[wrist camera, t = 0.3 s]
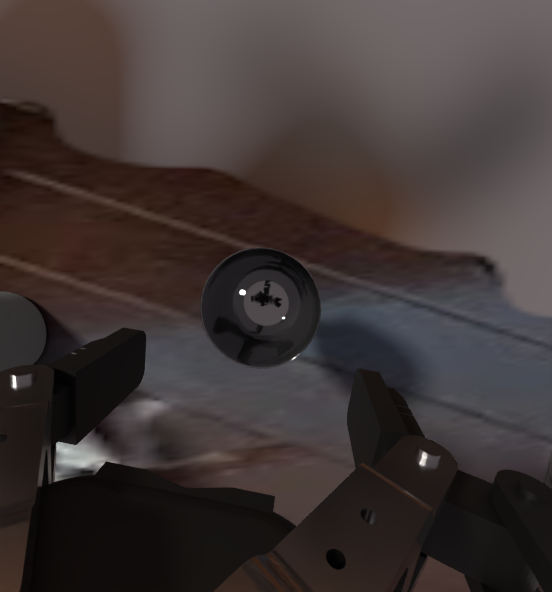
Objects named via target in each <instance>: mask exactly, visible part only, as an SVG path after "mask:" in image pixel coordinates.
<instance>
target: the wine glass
mask: <svg viewBox="0 0 552 592" xmlns="http://www.w3.org/2000/svg"><path fill="white" fill-rule="evenodd" d="M200 310H201V319H202V323H203V327H204V329H205V332H206V334H207V336H208V338H209V339H210V341H211V342H212V344H213V345H214V346H215V348H216V349H217V350H218V351H219V352H220V353H221V354H223V355H224V356H225V357H227V358H228V359H230V360H231V361H233V362H235V363H237V364H240V365H243V366H246V367H251V368H271V367H276V366H280V365H282V364H285V363H287V362H289V361H291V360H292V359H294V358H296V357H297V356H298V355H299V354H301V353H302V352H303V351H304V350H305V349H306V348H307V346H308V345H309V344H310V343H311V341H312V339H313V337H314V336H315V334H316V332H317V329H318V325H319V322H320V316H321V300H320V296H319V291H318V288H317V286H316V283H315V281H314V279H313V278H312V276H311V274H310V273H309V271H308V270H307V269H306V268H305V267H304V266H303V265H302V264H301V263H300V262H299V261H297V260H296V259H295V258H293V257H292V256H290V255H288V254H286V253H284V252H281V251H278V250H275V249H270V248H250V249H246V250H242V251H239V252H237V253H235V254H232V255H230V256H229V257H227V258H226V259H224V260H223V261H222V262H221V263H220V264H219V265H218V266H217V267H216V268H215V269H214V270H213V271H212V273H211V274H210V276H209V277H208V279H207V281H206V283H205V285H204V289H203V292H202V295H201V304H200Z"/></svg>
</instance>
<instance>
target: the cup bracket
mask: <svg viewBox="0 0 552 592" xmlns="http://www.w3.org/2000/svg"><path fill="white" fill-rule="evenodd" d="M545 485H547V486H548V487H550V488H551V489H552V453H551V458H550V462H549V467H548V472H547V476H546V481H545Z"/></svg>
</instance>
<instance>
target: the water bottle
mask: <svg viewBox="0 0 552 592" xmlns="http://www.w3.org/2000/svg"><path fill="white" fill-rule="evenodd" d="M46 338H47V334H46V326H45V322H44V319H43V317H42V315H41V313H40V312H39V310H38V309H37V308H36V307H35V306H34V304H33V303H31V302H30V301H29V300H27V299H26V298H24V297H22V296H20V295H18V294H14V293H10V292H0V372H1V371H4V370H6V369H9V368H13V367H17V366H23V365H33V364H34V363H35V362H36V361H37V360H38V359H39V357H40V356H41V354H42V352H43V350H44V347H45V344H46Z"/></svg>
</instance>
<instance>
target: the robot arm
mask: <svg viewBox="0 0 552 592" xmlns="http://www.w3.org/2000/svg"><path fill="white" fill-rule="evenodd" d="M145 351H146V334H145V332H144V331H140V330H135V329H129V328H121V329H120V330H118V331H116V332H114V333H112V334H111V335H109V336H107V337H105V338H102V339H99V340H95V341H92V342H90V343H88V344H86V345H84V346H83V347H81V349H77V350H75V351H73V352H72V354H68V355H66V356H64V357H62V358H60V359H59V360H57V361H55V362H53V363H51V364H49V365H48V366H44V365H23V366H17V367H13V368H9V369H6V370H4V371H1V372H0V592H413V590H414V588H415V586H416V584H417V581H418V579H419V577H420V575H421V573H422V571H423V569H424V567H425V564H426V562H427V560H428V557H429V556H430V557H432V558H434V559H436V560H438V561H440V562H442V563H443V564H445V565H447V566H449V567H451V568H453V569H455V570H457V571H459V572H461V573H463V574H464V575H465V578H466V581H467V583H468V586H469V588H470V591H471V592H540V590H539V589H538V585H539V584H540V586H541V587H542V589H543V591H544V592H552V489H551V488H550V487H548V486H547V485H545V484H544V483H542V482H540V481H539V480H537V479H535V478H533V477H531V476H528V475H526V474H523V473H521V472H517V471H513V470H501V471H499V472H497V474H496V477H495V479H494V482H493V484H492V483H489V482H487V481H484V480H482V479H479V478H477V477H474V476H472V475H469V474H467V473H464V472H462V471H460V470H458V463H457V461H456V459H455V457H454V456H453V455H452V454H451V453H450V452H449V451H448V450H447V449H446V448H444V447H443V446H442V445H440V444H438V443H437V442H435V441H433V440H430V439H428V438H425V436H424V434H423V432H422V431H421V429H420V427H419V425H418V423H417V421H416V420H415V418H414V416H412V412H411V410H410V409H409V408H408V405H407V403H406V401H405V399H404V398H403V396H401V395H400V394H399V393H398V392H397V391H396V390H394V389H393V388H389V387H386V385H385V383H384V381H383V379H382V376H381V374H380V373H379V372H375V371H370V370H364V369H358V370H357V372H356V375H355V379H354V384H353V388H352V393H351V397H350V402H349V406H348V413H347V426H348V431H349V436H350V441H351V446H352V452H353V457H354V462H355V467H356V469H355V470H354V471H353V472H352V473H351V474H350V475H349V476H348V477H346V478H345V479H344V480H343V481H342V482H341V483H340V484H339V485H338V486H337V487H336V488H335V489H334V490H333V491H332V492H331V493H330V494H329V495H328V496H327V497H326V498H325V499H324V500H323V501H322V502H321V503H320V504H319V505H318V506H317V507H316V508H315V509H314V510H313V511H312V512H311V513H310V514H309V515H307V516H306V517H305V518H304V519H303V520H302V521H301V522H300V523H299V524H298V525H297V526H295V525H294V524H293V523H291V522H290V521H289V520H287V519H285V518H284V517H282V516H281V515H279V514H277V513H275V512H273V508H274V500H275V496H271V495H266V494H262V493H257V492H252V491H247V490H242V489H237V488H184V487H181V486H179V485H177V484H175V483H173V482H171V481H169V480H167V479H164V478H162V477H160V476H158V475H156V474H154V473H152V472H150V471H148V470H145V469H140V468H135V467H130V466H125V465H121V464H116V463H111V462H105V464H104V465H103V466H102V467H101V468H100V469H99V471H98V472H97V473H96V474H95V475H88V476H79V477H74V478H68V479H64V480H61V481H57V482H54V481H55V466H56V443H57V442H63V443H68V444H73V445H77V444H78V443H79V442H80V441H81V440H82V439H83V438H84V437H85V436H86V435H87V434H88V433H89V432H90V431H91V430H92V429H93V428H95V427H96V426H97V425H98V424H99V423H100V422H101V421H102V420H103V419H104V418H105V417H106V416H107V415H108V414H109V413H110V412H111V411H112V410H113V409H114V408H116V407H117V406H118V405H119V404H120V403H121V402H122V401H123V400H124V399H125V398H126V397H127V396H128V395H129V394H130V393H131V392H132V391H133V390H134V389H135V388H137V387H138V385H139V384H140V382H141V380H142V378H143V375H144V370H145Z"/></svg>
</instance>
